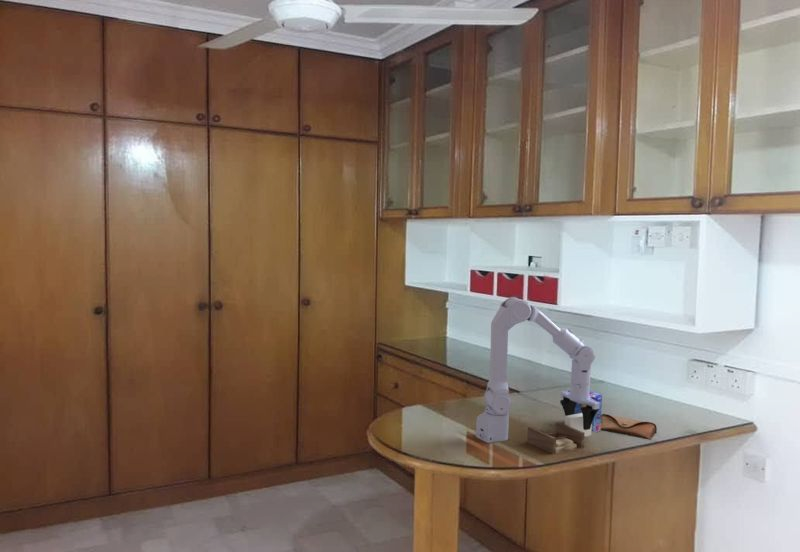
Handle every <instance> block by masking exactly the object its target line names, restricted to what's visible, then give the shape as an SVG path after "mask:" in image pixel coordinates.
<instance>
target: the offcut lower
mask: <svg viewBox="0 0 800 552" xmlns="http://www.w3.org/2000/svg"><path fill="white" fill-rule="evenodd" d="M576 447H577V444H575V443H573V445H568V446H563V447H556V452H558V451H563V450H568V449H572V448H576Z"/></svg>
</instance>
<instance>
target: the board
mask: <svg viewBox="0 0 800 552" xmlns="http://www.w3.org/2000/svg"><path fill="white" fill-rule="evenodd" d="M564 425H567V426H569V427H572V428H574V429H576V430H579V431H581V432H584V438H585V437H589V436H592V431H591V430H592V424H591V427H590V429H589V430H584V429H583V414H582V413H580V414H574V415H568V416H565V415H564Z"/></svg>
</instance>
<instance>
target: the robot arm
mask: <svg viewBox="0 0 800 552" xmlns="http://www.w3.org/2000/svg"><path fill="white" fill-rule="evenodd" d="M525 321H528V322H532V323H533V322H534V323H535V324H536V325H538V326H539V327H541V329H543V330H544V331H546V332H547V333H548V334H549V335H551V336H552V342H553V343H554V344H555V345H556V346H558V347H559V348H560V349H561V350H562V351H563V352H565V353H566V354H567V355H568V356H569V358H570V359H571V369H570V370H571V372H570V373H571V374H570V389H569V391H570V392H568V391H567V390H564V391H563V390H562V391H560V398H561V400H559V401H560V405H561V407H562V409H563V412H564V417H565V416H568V415H574V411H575V407H576V404H577V403H580V404H583V405H586V407H581V411H582V414H583V429H584V430H589V429H590V427H591V424H592V421H593V419H594V417H595V415H596V413H597V412H598V411H599V405H600V403H599V402H597V401H595V400H593V399H592V398H591V396H589V392H591V390H590V388H591V374H592V373H591V372H592V368H591V367H592V363H593V362H594V360H595V359H596V354H595V353H594V350H593V348H591V347H589V346H587V345H586V344H584V343H585V341H584V340H583V339H581V338H580V339H579V338H578V337H577V336H576V335H574V334H573V333H574V330H572V329H570V328H568V329H567V328H566V327H562V328H561V327H559V326H558V325H556V324H555V323H554V322H553V321H552V320H551V319H550V318H549V317H548V316H547V315H546V314H544V313H543V312H542V311H541V310H540V309H539V308H537V307H535V306H533V305H531V304H530V303H529V302H528V301H526V300H523V299H520V298H518V297H516V296H511V297H508V298H507V299H506V300H504V301H503V302H501V303H500V306H499V309H498V311H497V312H496V313H495V315H494V317H493V319H492V321H491V323H490V353H489V355H490V358H489V359H490V362H489V367H490V368H489V380H488V381H487V385H486V390H485V392H484V395H483V400H484V402H485V403H486V407H485V408H484V411H483V412H482V413H480V414H479V415H477V417H476V421H475V422H476V424H475V425H476V427H475V437H476V438H477V439H479V440H481V441H483V442H485V443H487V444H488V443H494V442H495V443H496V442H504V441H508V439H509V423H510V421H509V420H510V410H511V408H512V405H513V401H512V400H511V398H510V395H509V394H510V390H509V385H508V350H509V349H508V345H509V344H508V343H509V330H511V329H512V328H513V327H515V326H516V325H518V324H521V323H523V322H525Z"/></svg>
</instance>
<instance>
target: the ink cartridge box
mask: <svg viewBox="0 0 800 552" xmlns="http://www.w3.org/2000/svg"><path fill="white" fill-rule="evenodd" d="M567 392H570V390H568V391H567ZM589 396H591V398H592V399H593V400H595V401H597V402H599V403H600V405H599V411H598V412H597V413H596V415H595V417H594V419H593V421H592V430H591V432H593V433H598V432H600V431H602V430H601V415H602V405H603V394H601V393H597V392H593V391H590V392H589ZM581 407H586V405H583V404H580V403H577V404H576V407H575V411H574V414H580V413H582V411H581Z"/></svg>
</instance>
